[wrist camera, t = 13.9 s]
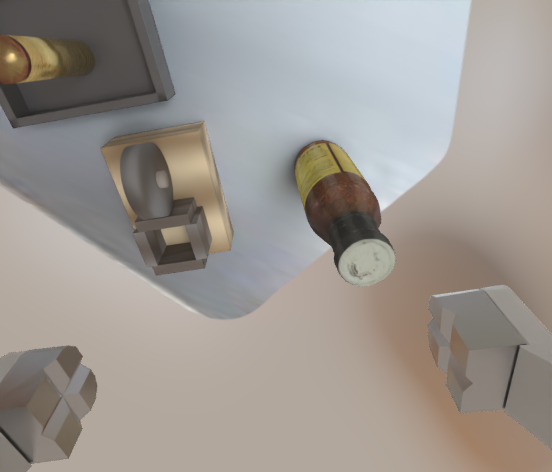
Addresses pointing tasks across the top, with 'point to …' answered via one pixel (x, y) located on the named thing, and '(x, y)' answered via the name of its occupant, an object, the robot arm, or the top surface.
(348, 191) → the sauce bottle
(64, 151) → the top surface
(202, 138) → the block
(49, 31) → the tray
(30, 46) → the pin
